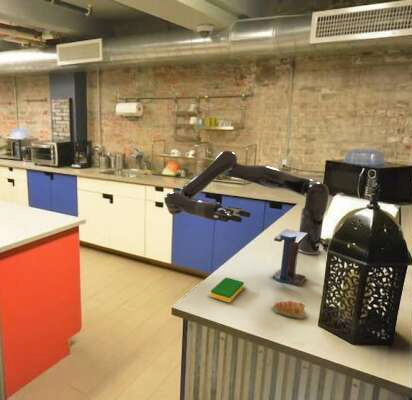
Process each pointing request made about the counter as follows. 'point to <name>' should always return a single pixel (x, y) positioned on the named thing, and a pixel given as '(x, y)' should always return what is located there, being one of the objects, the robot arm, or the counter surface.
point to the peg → (285, 258)
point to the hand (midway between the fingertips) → (246, 217)
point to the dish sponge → (227, 289)
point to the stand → (293, 257)
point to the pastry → (290, 309)
